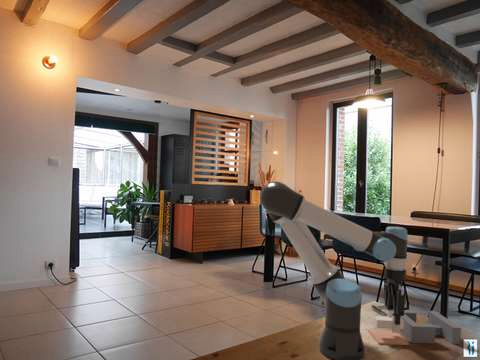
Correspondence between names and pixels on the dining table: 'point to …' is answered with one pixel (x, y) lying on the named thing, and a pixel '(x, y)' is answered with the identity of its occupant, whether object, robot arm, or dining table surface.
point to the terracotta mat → (388, 337)
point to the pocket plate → (429, 328)
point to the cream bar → (385, 322)
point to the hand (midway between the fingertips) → (393, 329)
